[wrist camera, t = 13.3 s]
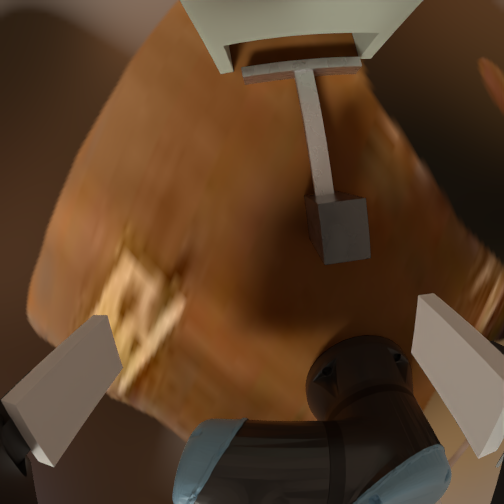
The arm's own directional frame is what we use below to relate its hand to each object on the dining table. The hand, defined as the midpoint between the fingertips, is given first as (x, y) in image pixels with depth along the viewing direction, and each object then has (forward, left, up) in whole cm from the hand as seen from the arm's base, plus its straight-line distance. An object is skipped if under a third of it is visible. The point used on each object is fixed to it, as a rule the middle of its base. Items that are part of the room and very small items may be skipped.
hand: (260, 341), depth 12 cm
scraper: (+8, -7, -25) cm, 27 cm away
